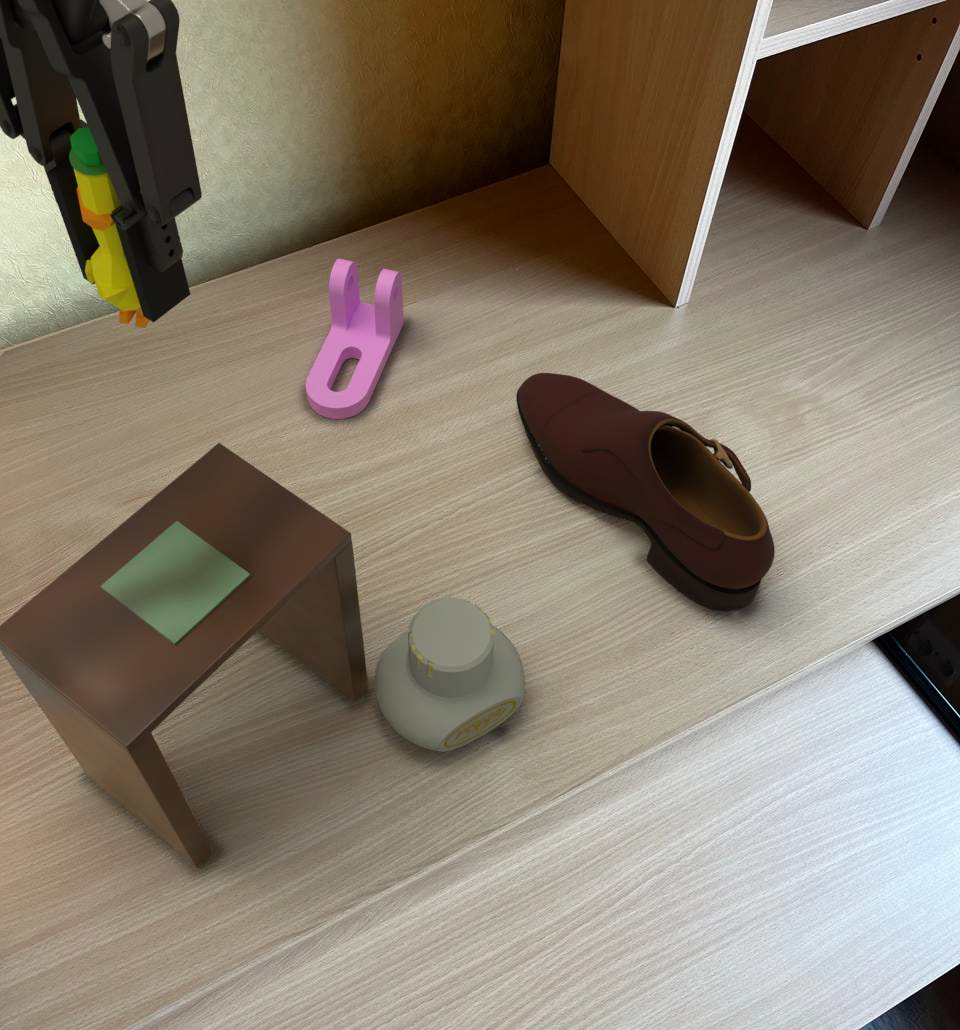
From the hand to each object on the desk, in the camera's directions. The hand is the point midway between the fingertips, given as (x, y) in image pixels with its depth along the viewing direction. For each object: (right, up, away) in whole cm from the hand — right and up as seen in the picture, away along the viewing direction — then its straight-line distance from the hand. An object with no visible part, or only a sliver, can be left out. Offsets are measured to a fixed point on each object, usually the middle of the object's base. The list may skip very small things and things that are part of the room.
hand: (136, 285), depth 58 cm
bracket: (+7, +6, +41) cm, 42 cm away
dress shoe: (+31, -7, +34) cm, 47 cm away
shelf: (0, -26, +22) cm, 34 cm away
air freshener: (+16, -23, +24) cm, 37 cm away
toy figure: (-1, -1, +3) cm, 3 cm away
